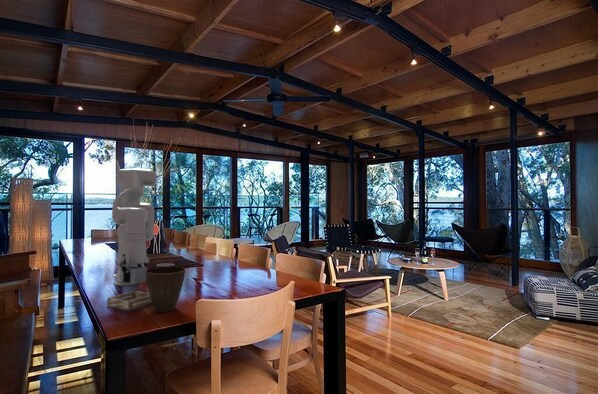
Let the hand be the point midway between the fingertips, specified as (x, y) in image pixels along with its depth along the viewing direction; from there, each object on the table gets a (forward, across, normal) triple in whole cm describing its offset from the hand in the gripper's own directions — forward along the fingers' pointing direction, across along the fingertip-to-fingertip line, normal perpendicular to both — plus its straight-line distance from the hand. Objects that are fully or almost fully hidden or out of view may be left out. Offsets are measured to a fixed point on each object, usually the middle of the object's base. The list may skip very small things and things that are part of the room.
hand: (133, 280), depth 140 cm
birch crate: (+10, 0, -1) cm, 10 cm away
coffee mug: (+10, -34, -17) cm, 40 cm away
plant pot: (+11, -1, +16) cm, 19 cm away
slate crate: (+1, 0, 0) cm, 1 cm away
